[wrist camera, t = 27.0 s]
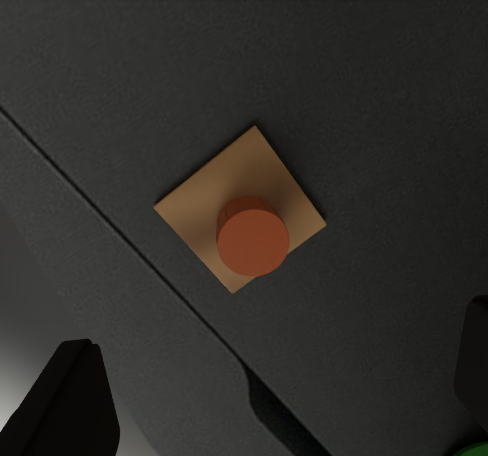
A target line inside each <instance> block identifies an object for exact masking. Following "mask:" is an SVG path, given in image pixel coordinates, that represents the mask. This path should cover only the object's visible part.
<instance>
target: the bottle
mask: <svg viewBox="0 0 488 456" xmlns="http://www.w3.org/2000/svg"><path fill="white" fill-rule="evenodd" d="M452 456H488V441H486V442H480V443H474V444H471V445H469V446H467V447H464V448H462V449H461V450H459V451H458V452H456V453H455V454H454V455H452Z"/></svg>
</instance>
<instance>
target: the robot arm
mask: <svg viewBox="0 0 488 456" xmlns="http://www.w3.org/2000/svg"><path fill="white" fill-rule="evenodd" d="M454 391H455V394H456V396H457V398H458V399H459V400H460V402H461V403H462V404H463V405H464V406H465V407H466V409H467V410H468V411H469V412H470V413H471V414H472V415H473V417H474V418H475V419H476V420H477V421H478V422H479V424H480V425H481V426H482V427H483V428H484V429H485V430H486V432H487V433H488V295H479V296H476V297H474V298H473V299H472V301H471V303H469V304H468V305H467V308H466V314H465V320H464V326H463V332H462V337H461V343H460V349H459V355H458V361H457V367H456V372H455V378H454ZM119 439H120V427H119V423H118V419H117V415H116V411H115V407H114V403H113V399H112V394H111V390H110V386H109V382H108V378H107V374H106V370H105V366H104V362H103V358H102V354H101V350H100V347H99V345H98V344H92V342H91V340H90V339H81V340H71V341H64V342H62V343H61V344H60V346H59V347H58V348H57V350H56V351H55V353H54V354H53V356H52V357H51V359H50V360H49V362H48V363H47V365H46V366H45V368H44V369H43V371H42V373H41V374H40V376H39V377H38V379H37V380H36V382H35V383H34V385H33V386H32V388H31V389H30V391H29V392H28V394H27V395H26V397H25V398H24V400H23V401H22V403H21V404H20V406H19V407H18V409H17V410H16V411H15V412H14V413H13V414H12V416H11V417H10V418H9V420H8V421H7V423H6V424H5V426H4V427H3V429H2V430H1V432H0V456H116V452H117V449H118V445H119Z"/></svg>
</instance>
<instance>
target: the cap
mask: <svg viewBox="0 0 488 456" xmlns="http://www.w3.org/2000/svg"><path fill="white" fill-rule="evenodd" d="M216 244H217V245H218V252H219V255H220V258H221V260H222V261H223V263H224V264H225V265H226V266H227V267H228V268H229V269H230V270H232V271H233V272H235V273H237V274H239V275H243V276H249V277H255V276H261V275H265V274H267V273H269V272H271V271H273V270H274V269H276V268H277V267H278V266H279V265H280V264H281V263H282V261H283V260H284V258H285V257H286V255H287V252H288V249H289V234H288V230H287V228H286V225H285V223H284V222H283V220H282V219H281V217H280V216H279V214H278V213H277V212H276V211H275V209H274V208H273V206H272V205H271V204H269V203H268V202H267V201H265V200H263V199H261V198H260V197H259V198H258V197H254V196H244V197H240V198H237V199H234V200H232V201H231V202H229V203H228V204H227V205H226V206H224V208H223V210H222V211H221V213H220V215H219V217H218V218H217V229H216Z"/></svg>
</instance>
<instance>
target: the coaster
mask: <svg viewBox="0 0 488 456" xmlns="http://www.w3.org/2000/svg"><path fill="white" fill-rule="evenodd" d="M244 196H254V197H258V198H259V197H260V198H261V199H263V200H265V201H267V202H268V203H269V204H271V205H272V206H273V208H274V209H275V211H276V212H277V213H278V214H279V216H280V217H281V219H282V220H283V222H284V223H285V225H286V228H287V230H288V234H289V249H288V252H287V254H288V253H289V252H291V251H292V250H293V249H295V248H296V247H297V246H299V245H300V244H302V243H303V242H304V241H306V240H307V239H308V238H310V237H311V236H312V235H314V234H315V233H317V232H318V231H319V230H321V229H322V228H323V227H325V226H326V225H327V224H326V223H325V221H324V220H323V218H322V217H321V216H320V214H319V213H318V211H317V210H316V209H315V207H314V206H313V205H312V203H311V202H310V200H309V199H308V198H307V196H306V195H305V193H304V192H303V191H302V189H301V188H300V187H299V185H298V184H297V182H296V181H295V180H294V178H293V177H292V175H291V174H290V173H289V171H288V170H287V168H286V167H285V166H284V164H283V163H282V162H281V160H280V159H279V157H278V156H277V155H276V153H275V152H274V150H273V149H272V148H271V146H270V145H269V143H268V142H267V141H266V139H265V138H264V137H263V135H262V134H261V132H260V131H259V130H258V128H257V127H256V126H255V125H254V126H252V127H251V128H250V129H249V130H247V131H246V132H245V133H244V134H242V135H241V136H240V137H239V138H237V139H236V140H235V141H234V142H233V143H231V144H230V145H229V146H228V147H226V148H225V149H224V150H223V151H221V152H220V153H219V154H218V155H216V156H215V157H214V158H213V159H211V160H210V161H209V162H208V163H206V164H205V165H204V166H203V167H201V168H200V169H199V170H198V171H196V172H195V173H194V174H193V175H191V176H190V177H189V178H188V179H187V180H185V181H184V182H183V183H182V184H180V185H179V186H178V187H177V188H175V189H174V190H173V191H172V192H170V193H169V194H168V195H167V196H165V197H164V198H163V199H162V200H160V201H159V202H158V203H157V204H155V205H154V209H155V210H156V211H157V212H158V213H159V214H160V215H161V216H162V218H163V219H164V220H165V221H166V222H167V223H168V224H169V225H170V226H171V227H172V228H173V230H174V231H175V232H176V233H177V234H178V235H179V236H180V237H181V238H182V239H183V241H184V242H185V243H186V244H187V245H188V246H189V247H190V248H191V249H192V250H193V251H194V253H195V254H196V255H197V256H198V257H199V258H200V259H201V260H202V261H203V262H204V264H205V265H206V266H207V267H208V268H209V269H210V270H211V271H212V272H213V273H214V275H215V276H216V277H217V278H218V279H219V280H220V281H221V282H222V283H223V284H224V285H225V287H226V288H227V289H228V290H229V291H230V292H231V293H232V294H233V293H235V292H236V291H237V290H239V289H240V288H242V287H243V286H244V285H246V284H247V283H248V282H250V281H251V280H252V279H254V278H255V277H257V276H255V277H249V276H243V275H239V274H237V273H235V272H233V271H232V270H230V269H229V268H228V267H227V266H226V265H225V264H224V263H223V261H222V260H221V258H220V255H219V252H218V245H217V244H216V229H217V218H218V217H219V215H220V213H221V211H222V210H223V208H224V206H226V205H227V204H228V203H229V202H231V201H232V200H234V199H237V198H240V197H244Z"/></svg>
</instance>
